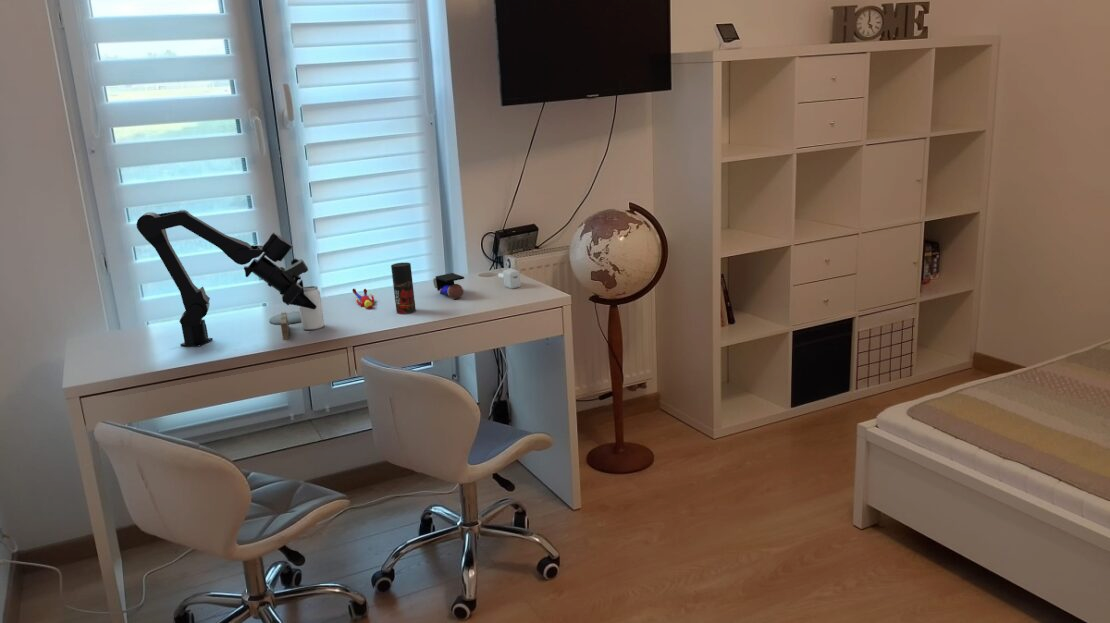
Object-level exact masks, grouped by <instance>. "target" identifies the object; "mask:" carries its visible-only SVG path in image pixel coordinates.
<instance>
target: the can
mask: <svg viewBox="0 0 1110 623" xmlns="http://www.w3.org/2000/svg"><path fill="white" fill-rule="evenodd" d="M318 288H319V287H318V286H317V285H316V286H315V285H310V286H303V290H304V294H305V295H306V296H307V297H308V298H309V299H310V300H311V301H312V302H313V303H314V304H315V305H316V308H315V309H310V308H306V307H301V306H298V309H299V311H300V316H301V322H300V323H301V328H302V329H303V330H304V331H314V330H319V329H322V328H324V326H325V319H324V313H323V305H322V297H321V292H320V290H319V289H318Z"/></svg>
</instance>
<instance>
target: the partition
mask: <svg viewBox="0 0 1110 623" xmlns="http://www.w3.org/2000/svg"><path fill="white" fill-rule="evenodd" d="M287 313H288V312H286V311H285V312H281V313H280V314H281V325H280V326H281V327H280V328H281V333H282V340H288V339H289V337H290V336H289V334H290V333H289V332H290V331H289V324H288V320H287Z"/></svg>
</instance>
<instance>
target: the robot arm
mask: <svg viewBox="0 0 1110 623" xmlns="http://www.w3.org/2000/svg"><path fill="white" fill-rule="evenodd" d="M179 226H180V227H183V228H185V229H186V230H188V231H189V232H192V233H193V234H194V235H196V236H198V237H200V238H202V239H203V240H205V241H206V242H209V243H211V244H212V245H214V246H215V247H217V248H218V249H220V250H221V251H222V252H223V253H224V254H225V255H226V256H227V257H228V258H229V259H231V260H232V261H233V262H234V263H236V264H237V265H242V266H243V265H244V267H243V270H244V273H245V277H246V278H248V277H249V276H250V275H251V274H252V273H253V275H255V276H257V277H258V278H259V279H260V280H262V281H263V282H265V283H267V286H268V287H270V288H271V287H272V288H274V289H275V290H276V291H278V292H279V294H280V295H281V300H282V302H283V304H285V305H287V306H289V305H291V306H298V307H299V306H301V307H306V308H310V309H315V308H316V305H315V304H314V303H313V302H312V301H311V300H310V299H309V298H308V297H307V296H306V295H305V294H304V290H303V287H304V280H303V279H302V276H301V275H302V274H305V273H307V272H309V268H308V265H307V264H306V262H305V261H304V260H303V259H302V258H300V259H298V258H295V257H294V258H293V259H292V260H290V264H291V265H289V266H288V267H286V268H285V267H283V266H278V265H277V264H275V263H277V262H282V261H283V260H284V258H285V257H286V256H287V255H288V254H289V252H290V251H291V250H292V249H293V247H294V246H293V245H292V243H291V242H289V241H288V240H287V239H286V238H284V237H282V236H281V235H280V236H279V235H278V234H277V233H275V232H272V233H271V234H270V236H269V238H267V240H266V242H265V243H264V244H263V245H260V244H259V245H258V244H257V245H255V244H253V245H251V244H250V243H248V242H247V241H244V240H242V239H238V238H235V237H233V236H229V235H226V234H225V233H223V232H221V231H219V230H218V229H216V228H215V227H213V226H211V225H209V224H208V223H206V222H205V221H203V220H201V219H199V218H198V217H196V216H194V215H193V214H191V213H190V212H189V211H187V210H185V209H180V210H179V209H178V210H175V211H169V212H163V213H156V212H153V211H152V212H151V211H149V212H148V211H147V212H145V213H144V214H143V215H141V216H139V218H138V219H137V222H136V229H137V230H138V232H139V233H140V234H141V235H142V237H143V238H144V239H145V241H147V242H148V243H149V244H150V245H151V246H152V247H153V248H154V250H155V251H156V253H157V255H158V256H159V258H160V260H161V262H162V263H163V265H164V267H165V269H166V270H167V272H168V273H169V275H170V277H171V279H172V280H173V282H174V284H175V286H176V287H177V289H178V290H179V293H180V296H181V300H182V304H183V306H184V307H183V308H184V309H185V310H184V312H183V313H182V315H181V317H180V319H179V324H180V325H181V331H182V336H183V341H184V342H182V343H180V347H201V346H203V345H205V344H207V343H209V342H211V341H213V340H214V338H213V337H209V334H208V329H207V328H208V327H207V324H206V321H205V319H204V317H206V315H208V311H209V308H210V300H211V297H209V295H207V293H206V291H205V290H206V289H205V288H204V286H202V287H200V288H199V287H197V286H196V285H195V283H193V281H192V279H191V278H190V275H189V274H188V272H187V270H186V268H185V267H184V265H183V263H182V262H181V259H180V258H179V256H178V254H177V253H176V252H175V249H174V248H173V246H172V245H171V244H172V243H170V240H169V238H168V234H167V229H170V228H175V227H179ZM256 258H258V259H256ZM252 259H253V260H252ZM250 262H251V263H250ZM247 264H249V265H248V266H246V265H247ZM299 280H300V281H299ZM298 281H299V282H298Z"/></svg>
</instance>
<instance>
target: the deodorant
mask: <svg viewBox="0 0 1110 623" xmlns="http://www.w3.org/2000/svg"><path fill="white" fill-rule="evenodd" d="M390 268H391V276H392V284H393V285H392V286H393V293H394V294H393V295H394V302H395V311H396V314H398V315H407V314H412V313H415V312H416V300H415V291H414V282H413V274H412V264H411V262H396V263H393V264H391V266H390Z"/></svg>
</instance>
